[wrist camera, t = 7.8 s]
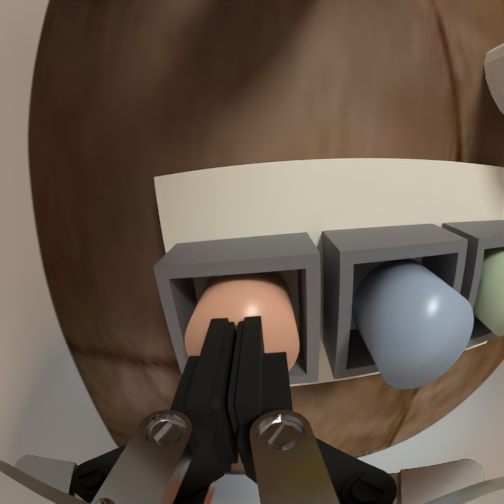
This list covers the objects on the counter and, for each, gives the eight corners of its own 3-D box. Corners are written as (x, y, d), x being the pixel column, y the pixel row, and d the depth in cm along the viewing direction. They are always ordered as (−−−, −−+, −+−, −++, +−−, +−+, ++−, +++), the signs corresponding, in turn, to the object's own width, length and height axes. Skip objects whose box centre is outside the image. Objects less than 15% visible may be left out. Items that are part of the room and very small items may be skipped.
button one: (195, 264, 12) (173, 301, 9) (288, 257, 12) (298, 293, 9) (210, 340, 13) (197, 389, 10) (292, 335, 13) (299, 385, 10)
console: (164, 175, 13) (123, 182, 9) (499, 166, 12) (548, 174, 8) (203, 373, 17) (189, 426, 12) (476, 332, 15) (508, 365, 11)
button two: (353, 262, 11) (388, 303, 7) (435, 253, 10) (483, 285, 7) (349, 345, 12) (371, 398, 9) (423, 331, 12) (457, 374, 8)
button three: (458, 241, 12) (502, 264, 8) (503, 237, 11) (543, 256, 8) (448, 310, 13) (481, 344, 9) (492, 299, 12) (525, 325, 9)
